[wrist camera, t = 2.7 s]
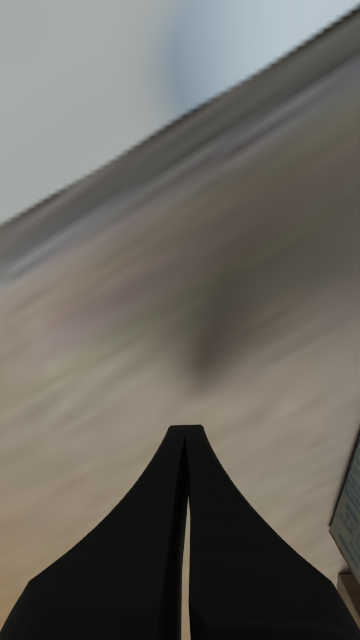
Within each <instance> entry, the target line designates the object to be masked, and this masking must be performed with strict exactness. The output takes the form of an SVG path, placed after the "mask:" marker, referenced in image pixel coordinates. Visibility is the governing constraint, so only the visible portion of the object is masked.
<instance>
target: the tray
mask: <svg viewBox="0 0 360 640" xmlns="http://www.w3.org/2000/svg"><path fill="white" fill-rule="evenodd" d="M337 590H338V592H339V594H340V596H341V597H342V599H343V601H344V602H345V604H346V606H347V608H348V609H349V611H350V613H351V615H352V616H353V618H354V620H355V622H356V624H357V625H358V627H359V629H360V587H359V585H358V584H357V582H356V580H355V578H354V576H353V574H339V575H338V585H337Z"/></svg>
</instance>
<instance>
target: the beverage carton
mask: <svg viewBox="0 0 360 640" xmlns="http://www.w3.org/2000/svg"><path fill="white" fill-rule="evenodd" d="M329 532H330V534H331V536H332V538H333V539H334V541H335V543H336V545H337V547H338V549H339V551H340V553H341V555H342V556H343V558H344V559H345V561H346V562H347V564H348V566H349V568H350V570H351V572H352V574H353V576H354V578H355V580H356V582H357V584H358V585H359V587H360V437H359V441H358V444H357V447H356V450H355V453H354V456H353V459H352V463H351V466H350V469H349V472H348V476H347V479H346V482H345V485H344V489H343V492H342V495H341V497H340V500H339V503H338V506H337V509H336V512H335V516H334V519H333V522H332V524H331V527H330V529H329Z"/></svg>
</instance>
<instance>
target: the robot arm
mask: <svg viewBox="0 0 360 640" xmlns="http://www.w3.org/2000/svg"><path fill="white" fill-rule="evenodd" d="M188 496H189V507H190V569H189V618H190V635H191V640H360V629H359V627H358V625H357V624H356V622H355V620H354V618H353V616H352V615H351V613H350V611H349V609H348V608H347V606H346V604H345V602H344V601H343V599H342V597H341V596H340V594H339V593H338V591H337V589H336V588H335V586H334V584H333V583H332V582H331V581H330V580H329V579H328V578H327V577H326V576H324V575H323V574H322V573H321V572H319V571H318V570H317V569H316V568H315V567H313V566H312V565H311V564H310V563H309V562H307V561H306V560H305V559H304V558H303V557H301V556H300V555H299V554H298V553H297V552H296V551H295V550H294V549H293V548H291V547H290V546H289V545H288V544H287V543H286V542H285V541H284V540H283V539H282V538H281V537H280V536H279V535H278V534H277V533H276V532H275V531H274V530H273V529H272V528H271V527H270V526H269V525H268V524H267V523H266V522H265V521H264V519H263V518H262V517H261V516H260V515H259V514H258V513H257V512H256V511H255V510H254V509H253V507H252V506H251V505H250V504H249V503H248V501H247V500H246V499H245V498H244V496H243V495H242V494H241V493H240V491H239V490H238V489H237V487H236V486H235V485H234V483H233V482H232V480H231V479H230V478H229V476H228V474H227V473H226V471H225V470H224V468H223V467H222V465H221V464H220V462H219V460H218V458H217V457H216V455H215V453H214V451H213V449H212V447H211V445H210V443H209V441H208V439H207V437H206V434H205V431H204V427H203V426H202V425H171V426H170V427H169V428H168V431H167V433H166V435H165V437H164V439H163V441H162V443H161V445H160V447H159V448H158V450H157V452H156V453H155V455H154V457H153V458H152V460H151V461H150V463H149V464H148V466H147V467H146V469H145V470H144V472H143V473H142V475H141V476H140V477H139V479H138V480H137V481H136V483H135V484H134V485H133V487H132V488H131V489H130V490H129V492H128V493H127V494H126V495H125V496H124V498H123V499H122V500H121V501H120V502H119V503H118V504H117V505H116V506H115V508H114V509H113V510H112V511H111V512H110V513H109V514H108V515H107V516H106V517H105V518H104V519H103V520H102V521H101V522H100V523H99V524H98V525H97V526H96V527H95V528H94V529H93V530H92V531H91V532H89V533H88V534H87V535H86V536H85V537H84V538H83V539H82V540H81V541H80V542H78V543H77V544H76V545H75V546H74V547H73V548H72V549H70V550H69V551H68V552H67V553H66V554H64V555H63V556H62V557H60V558H59V559H58V560H56V561H55V562H54V563H53V564H51V565H50V566H49V567H47V568H46V569H45V570H43V571H42V572H41V573H40V574H38V575H37V576H36V577H34V578H33V579H31V580H30V581H29V582H28V584H27V586H26V587H25V589H24V591H23V593H22V594H21V596H20V597H19V599H18V600H17V602H16V604H15V605H14V607H13V609H12V611H11V612H10V614H9V616H8V618H7V620H6V621H5V623H4V625H3V627H2V629H1V631H0V640H181V605H182V564H183V551H184V540H185V528H186V517H187V505H188Z"/></svg>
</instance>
